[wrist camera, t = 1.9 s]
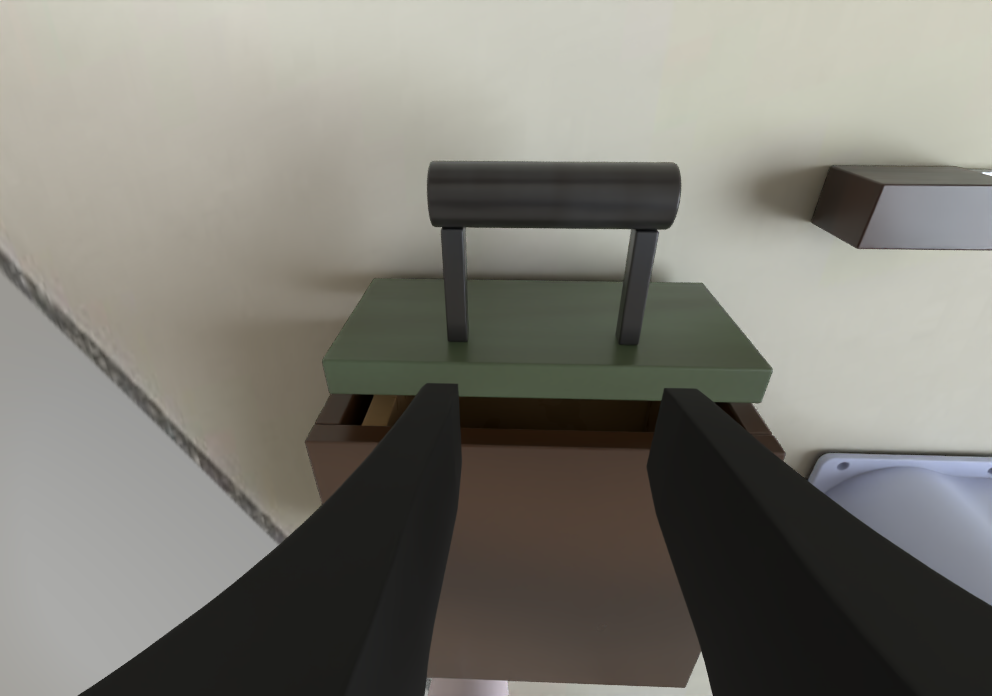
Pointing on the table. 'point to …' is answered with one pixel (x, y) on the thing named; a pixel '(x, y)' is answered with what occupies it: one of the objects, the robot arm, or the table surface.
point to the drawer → (545, 312)
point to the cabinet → (546, 552)
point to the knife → (907, 207)
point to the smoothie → (467, 687)
